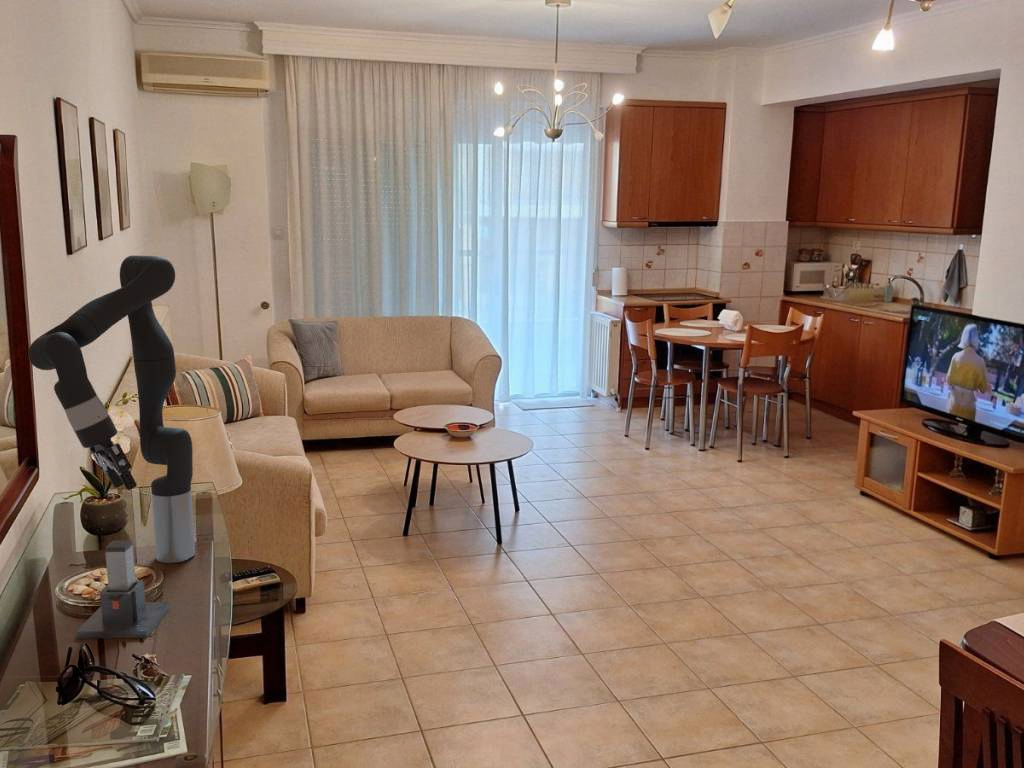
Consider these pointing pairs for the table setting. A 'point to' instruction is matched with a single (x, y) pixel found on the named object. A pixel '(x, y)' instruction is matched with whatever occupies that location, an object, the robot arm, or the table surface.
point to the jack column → (120, 566)
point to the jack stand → (124, 615)
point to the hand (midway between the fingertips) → (125, 487)
